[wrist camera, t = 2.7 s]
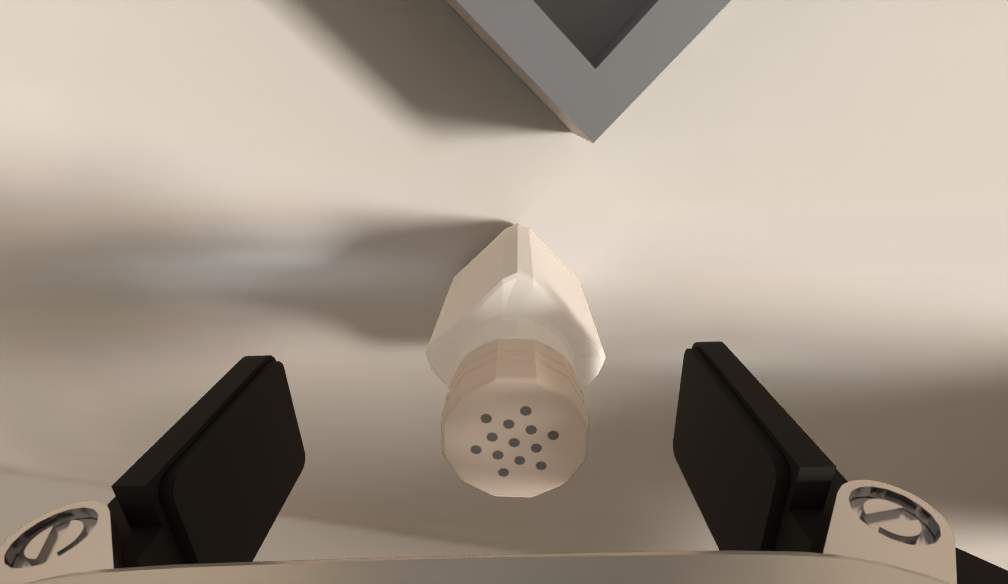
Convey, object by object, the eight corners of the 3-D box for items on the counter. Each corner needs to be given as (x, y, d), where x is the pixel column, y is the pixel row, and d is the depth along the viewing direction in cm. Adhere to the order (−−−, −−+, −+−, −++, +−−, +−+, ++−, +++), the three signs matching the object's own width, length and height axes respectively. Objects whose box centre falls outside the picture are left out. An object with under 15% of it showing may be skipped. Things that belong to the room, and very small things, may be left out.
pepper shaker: (445, 281, 19) (381, 438, 10) (517, 213, 18) (517, 321, 9) (514, 346, 20) (511, 540, 11) (586, 284, 19) (648, 446, 10)
